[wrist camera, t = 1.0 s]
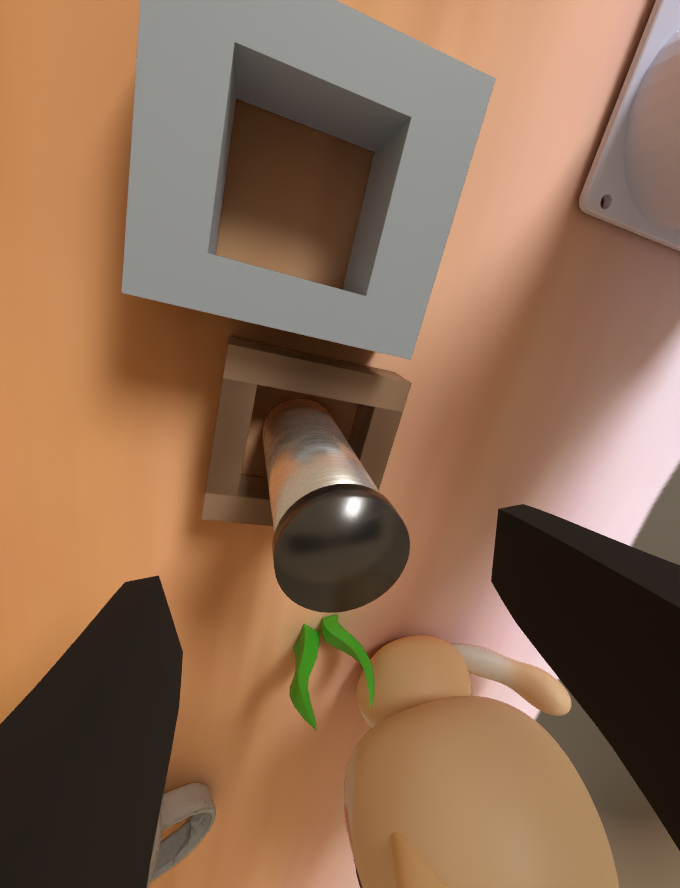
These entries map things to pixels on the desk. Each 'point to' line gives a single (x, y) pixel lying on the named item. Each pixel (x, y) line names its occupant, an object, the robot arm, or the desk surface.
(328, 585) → the pin
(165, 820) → the ceramic mug
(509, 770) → the kitten
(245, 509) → the mount
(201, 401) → the desk surface
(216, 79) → the dock
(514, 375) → the desk surface
